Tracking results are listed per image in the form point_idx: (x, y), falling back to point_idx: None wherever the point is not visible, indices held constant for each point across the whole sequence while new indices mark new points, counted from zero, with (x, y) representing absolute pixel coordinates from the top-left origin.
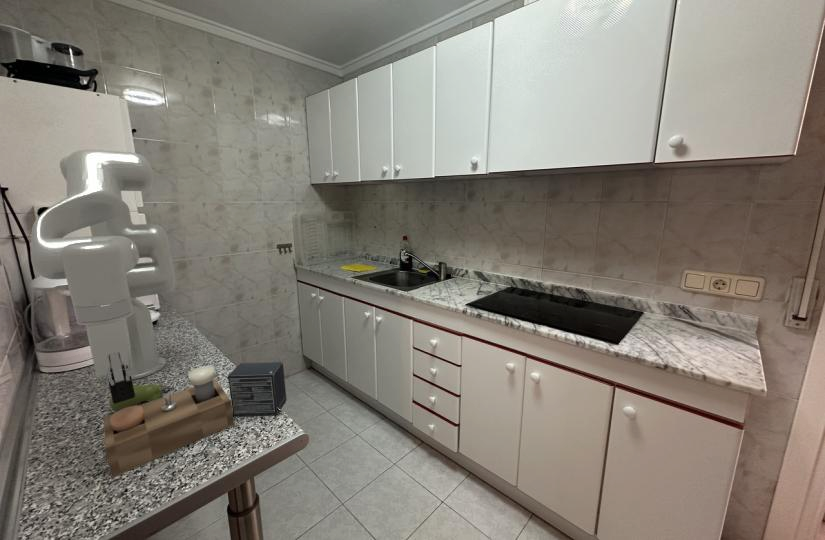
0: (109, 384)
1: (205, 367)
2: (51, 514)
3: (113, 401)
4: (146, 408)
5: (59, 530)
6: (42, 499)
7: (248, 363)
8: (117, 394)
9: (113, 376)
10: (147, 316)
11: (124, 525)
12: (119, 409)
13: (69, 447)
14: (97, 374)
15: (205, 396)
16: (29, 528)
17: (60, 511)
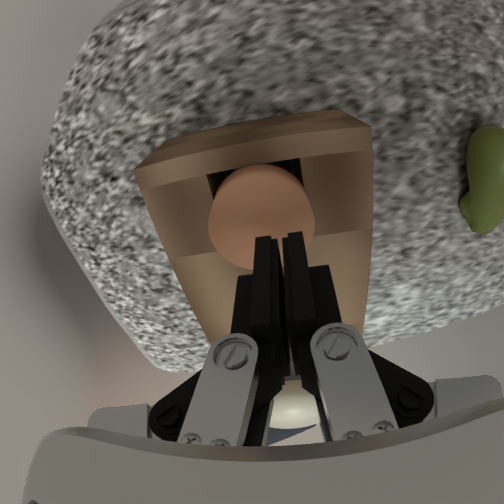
0: (267, 325)
1: (310, 421)
2: (108, 63)
3: (255, 244)
4: (330, 244)
5: (64, 100)
6: (169, 20)
7: (299, 432)
8: (235, 295)
9: (154, 433)
10: None
11: (46, 196)
12: (470, 139)
13: (382, 29)
14: (34, 458)
15: None
16: (91, 44)
17: (108, 76)
